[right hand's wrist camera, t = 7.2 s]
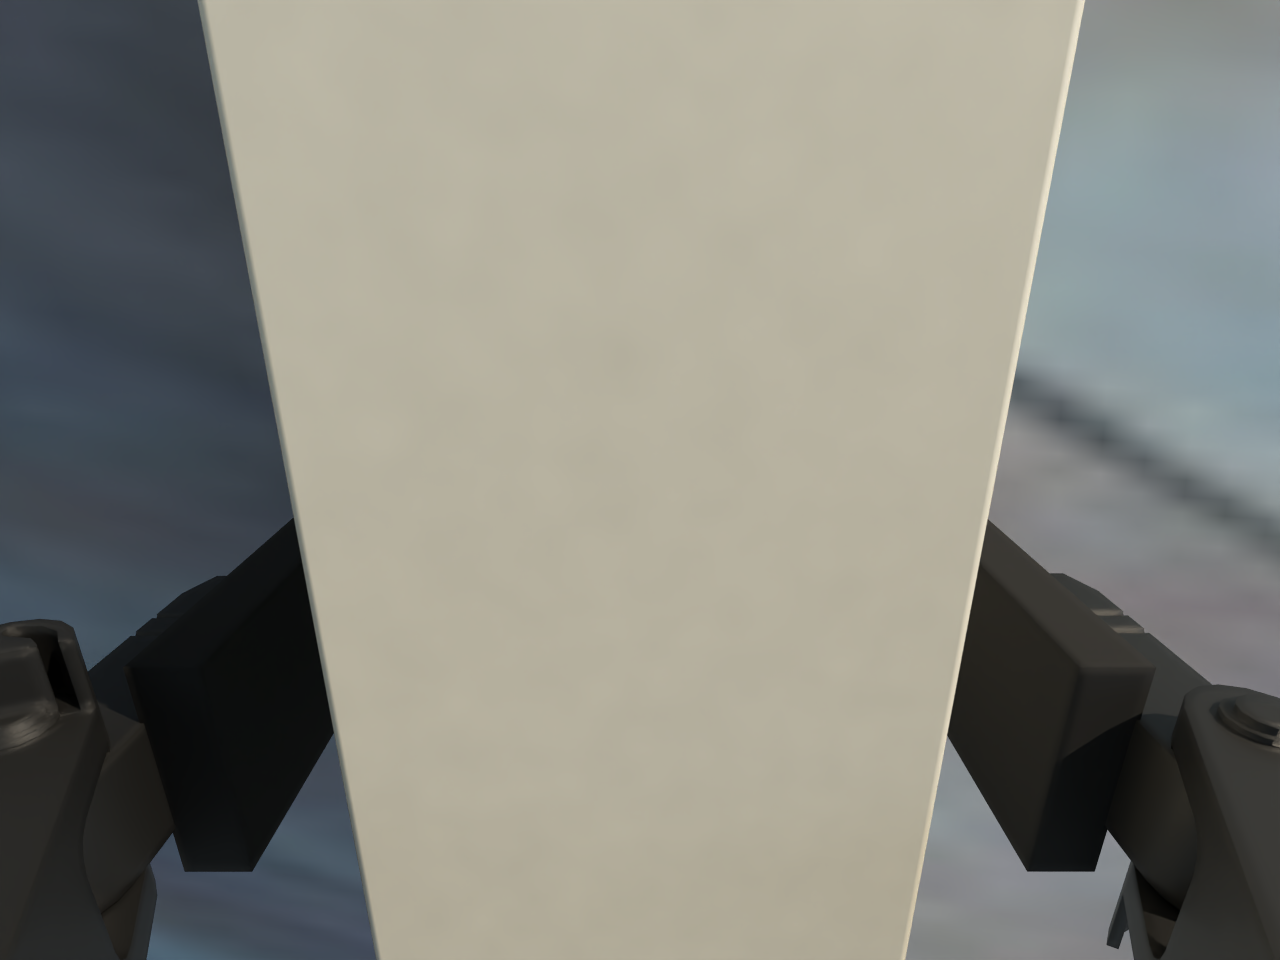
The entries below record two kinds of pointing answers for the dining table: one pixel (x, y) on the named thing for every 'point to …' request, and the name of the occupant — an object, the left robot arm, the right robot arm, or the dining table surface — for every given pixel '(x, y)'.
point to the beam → (640, 439)
